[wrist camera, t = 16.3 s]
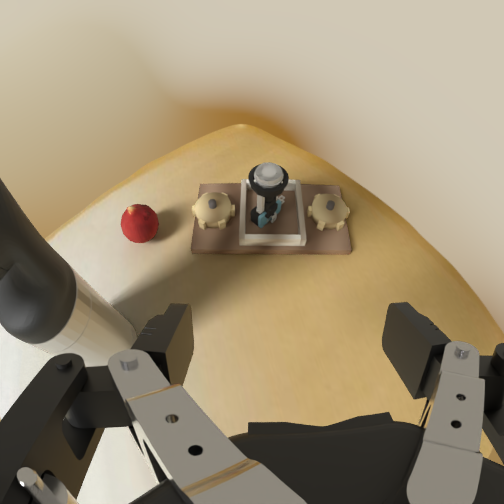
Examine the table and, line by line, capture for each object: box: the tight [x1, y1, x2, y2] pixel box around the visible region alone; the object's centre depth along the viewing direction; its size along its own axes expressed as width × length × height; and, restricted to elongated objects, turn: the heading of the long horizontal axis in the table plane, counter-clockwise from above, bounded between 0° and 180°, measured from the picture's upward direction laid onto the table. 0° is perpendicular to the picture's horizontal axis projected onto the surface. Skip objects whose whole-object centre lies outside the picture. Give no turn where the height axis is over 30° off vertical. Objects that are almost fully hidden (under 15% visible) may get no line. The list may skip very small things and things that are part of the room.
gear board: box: [191, 179, 352, 254], centre depth 48 cm, size 25×13×4 cm, turn 89°
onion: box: [121, 204, 159, 243], centre depth 45 cm, size 6×6×8 cm
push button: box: [249, 162, 289, 228], centre depth 44 cm, size 7×5×10 cm
